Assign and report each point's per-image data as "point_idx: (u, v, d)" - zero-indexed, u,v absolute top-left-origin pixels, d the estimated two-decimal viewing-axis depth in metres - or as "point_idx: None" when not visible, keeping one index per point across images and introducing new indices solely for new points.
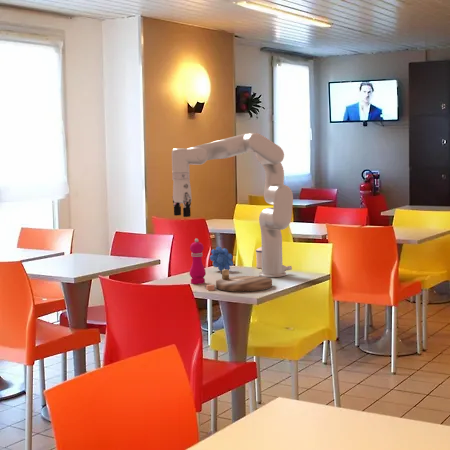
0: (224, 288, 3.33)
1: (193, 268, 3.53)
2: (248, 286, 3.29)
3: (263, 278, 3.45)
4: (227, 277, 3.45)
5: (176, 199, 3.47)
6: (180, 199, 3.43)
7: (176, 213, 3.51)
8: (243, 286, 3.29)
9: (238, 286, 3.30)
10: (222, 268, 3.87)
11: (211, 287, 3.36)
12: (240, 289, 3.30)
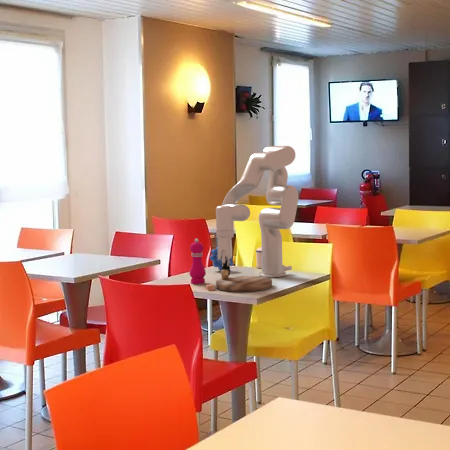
0: (225, 288, 3.32)
1: (193, 268, 3.53)
2: (249, 286, 3.29)
3: (262, 278, 3.46)
4: (227, 277, 3.45)
5: (230, 256, 3.48)
6: (231, 254, 3.52)
7: None
8: (244, 286, 3.29)
9: (239, 286, 3.29)
10: None
11: (211, 287, 3.36)
12: (241, 289, 3.29)
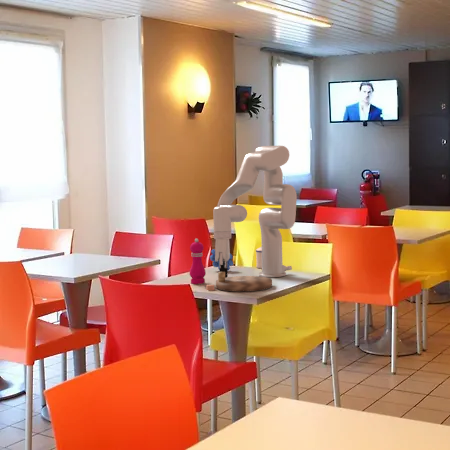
0: (241, 289, 3.29)
1: (193, 268, 3.53)
2: (264, 284, 3.33)
3: (253, 277, 3.50)
4: (224, 279, 3.40)
5: (227, 257, 3.42)
6: (229, 256, 3.46)
7: None
8: (261, 285, 3.31)
9: (257, 285, 3.30)
10: None
11: (211, 287, 3.36)
12: (258, 288, 3.31)
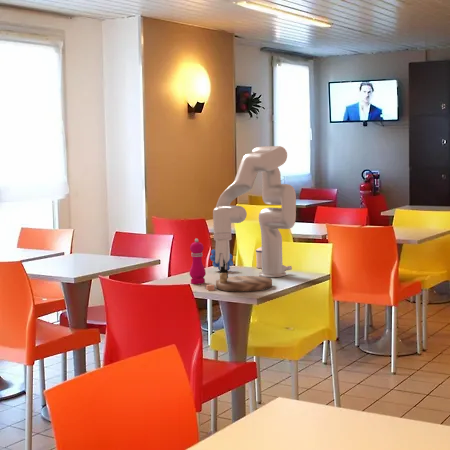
0: (250, 289, 3.30)
1: (193, 268, 3.53)
2: (269, 283, 3.36)
3: (246, 276, 3.50)
4: (226, 280, 3.38)
5: (228, 259, 3.39)
6: (229, 257, 3.43)
7: None
8: (267, 283, 3.34)
9: (264, 284, 3.33)
10: None
11: (211, 287, 3.36)
12: (265, 287, 3.33)
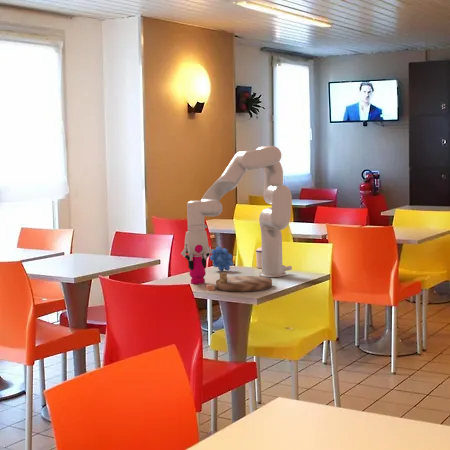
0: (250, 289, 3.30)
1: (193, 268, 3.53)
2: (269, 283, 3.36)
3: (246, 276, 3.50)
4: (226, 280, 3.38)
5: None
6: (205, 249, 3.54)
7: None
8: (267, 283, 3.34)
9: (264, 284, 3.33)
10: (222, 268, 3.87)
11: (211, 287, 3.36)
12: (265, 287, 3.33)
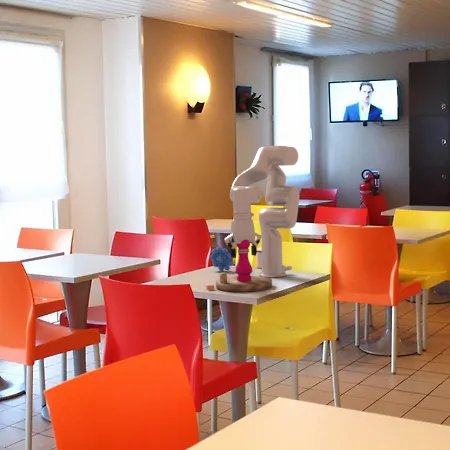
0: (250, 289, 3.30)
1: (239, 265, 3.38)
2: (269, 283, 3.36)
3: None
4: (226, 280, 3.38)
5: None
6: (252, 238, 3.39)
7: None
8: (267, 283, 3.34)
9: (264, 284, 3.33)
10: (222, 268, 3.87)
11: (211, 287, 3.36)
12: (265, 287, 3.33)
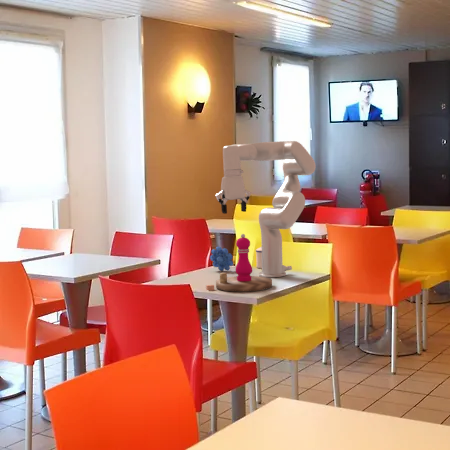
0: (250, 289, 3.30)
1: (239, 265, 3.38)
2: (269, 283, 3.36)
3: None
4: (226, 280, 3.38)
5: (234, 196, 3.47)
6: (242, 195, 3.49)
7: None
8: (267, 283, 3.34)
9: (264, 284, 3.33)
10: (222, 268, 3.87)
11: (211, 287, 3.36)
12: (265, 287, 3.33)
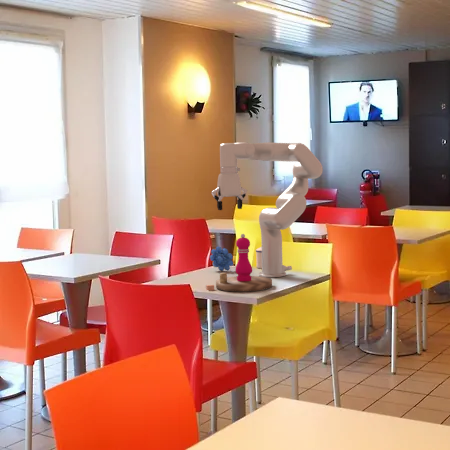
0: (250, 289, 3.30)
1: (239, 265, 3.38)
2: (269, 283, 3.36)
3: None
4: (226, 280, 3.38)
5: (230, 193, 3.53)
6: (238, 192, 3.55)
7: None
8: (267, 283, 3.34)
9: (264, 284, 3.33)
10: (222, 268, 3.87)
11: (211, 287, 3.36)
12: (265, 287, 3.33)
